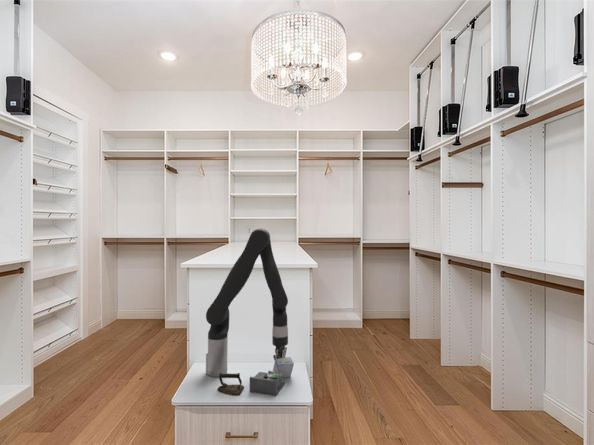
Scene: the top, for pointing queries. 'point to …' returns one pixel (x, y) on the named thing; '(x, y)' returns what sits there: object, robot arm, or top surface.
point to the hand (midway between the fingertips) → (280, 370)
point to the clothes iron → (230, 389)
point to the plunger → (270, 375)
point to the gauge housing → (266, 384)
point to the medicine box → (284, 366)
